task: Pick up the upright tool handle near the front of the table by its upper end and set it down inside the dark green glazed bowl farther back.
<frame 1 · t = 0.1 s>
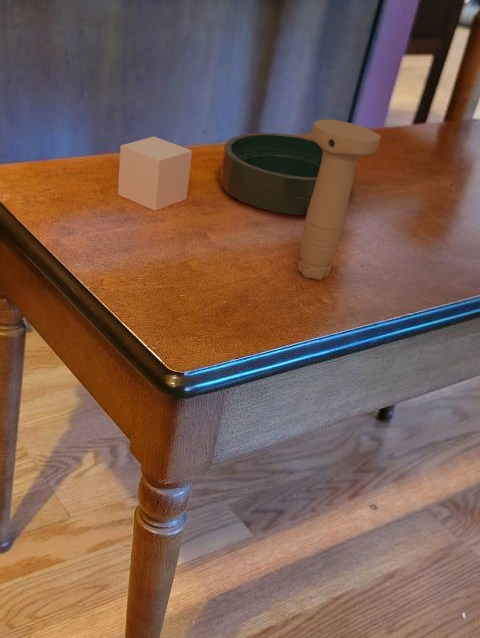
handle: (312, 275, 78), on the table
beige cube: (152, 198, 91), on the table
bowl: (282, 193, 96), on the table
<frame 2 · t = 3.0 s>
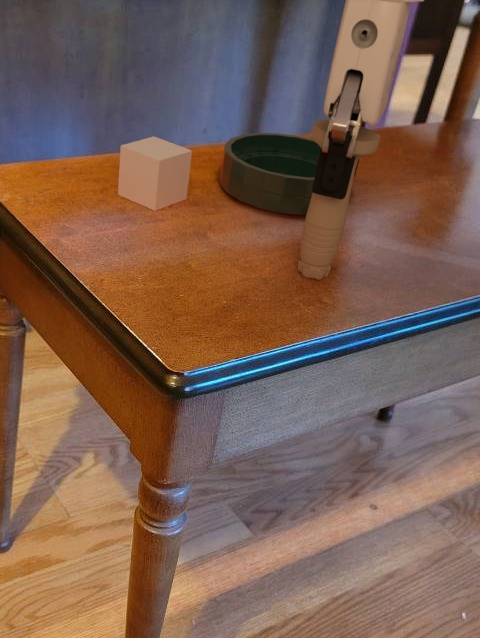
hand: (333, 183, 72), 10 cm above the table, tool pointing down, fingers closed on handle, 5 cm apart
handle: (312, 275, 78), on the table, touching gripper
everything else where it was.
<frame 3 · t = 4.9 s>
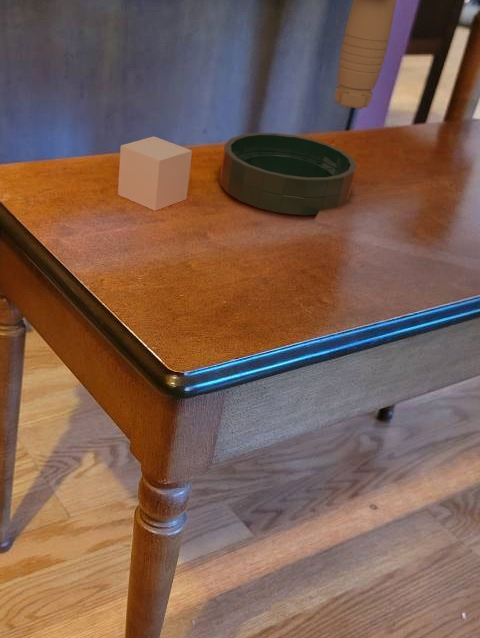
handle: (350, 106, 70), point 17 cm above the table, touching gripper
everything else where it was.
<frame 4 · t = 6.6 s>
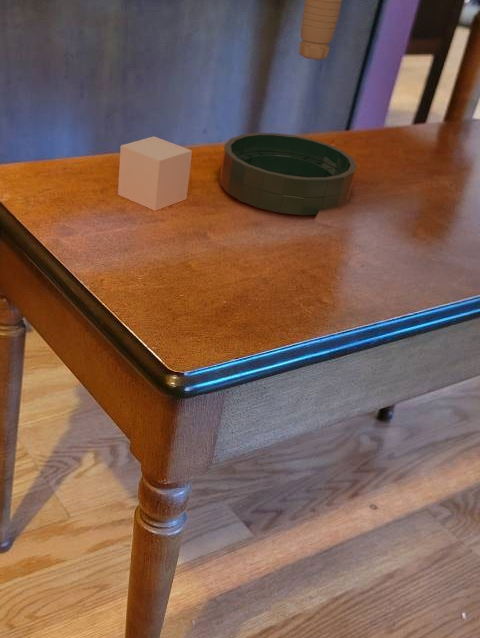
handle: (311, 58, 85), point 17 cm above the table, touching gripper
everything else where it was.
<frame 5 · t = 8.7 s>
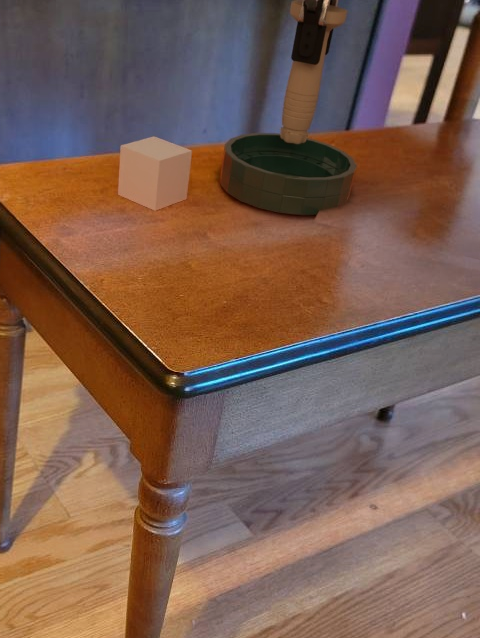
hand: (310, 55, 86), 17 cm above the table, tool pointing down, fingers closed on handle, 5 cm apart
handle: (292, 142, 92), point 7 cm above the table, touching gripper
everything else where it was.
when the fingers open (10 cm above the table, at t = 10.7 s): handle stays where it is, resting on bowl.
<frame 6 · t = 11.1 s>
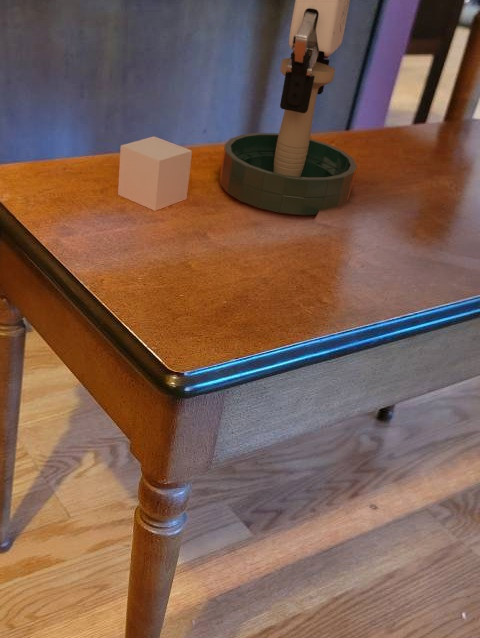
hand: (301, 100, 89), 12 cm above the table, tool pointing down, fingers open, 9 cm apart
handle: (283, 190, 96), resting on bowl
everything else where it was.
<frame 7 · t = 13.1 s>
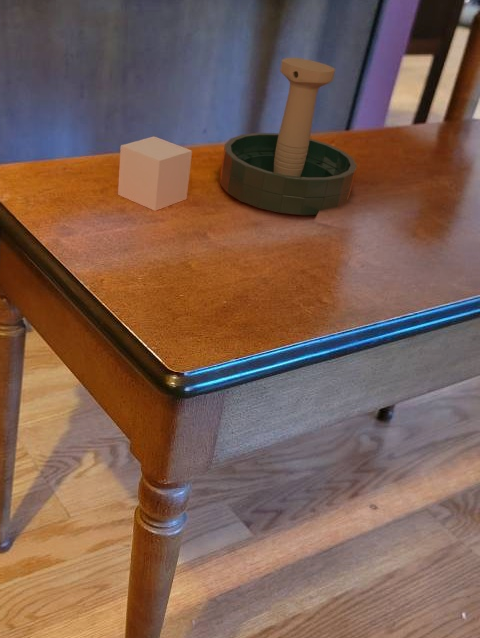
nothing on the table moved.
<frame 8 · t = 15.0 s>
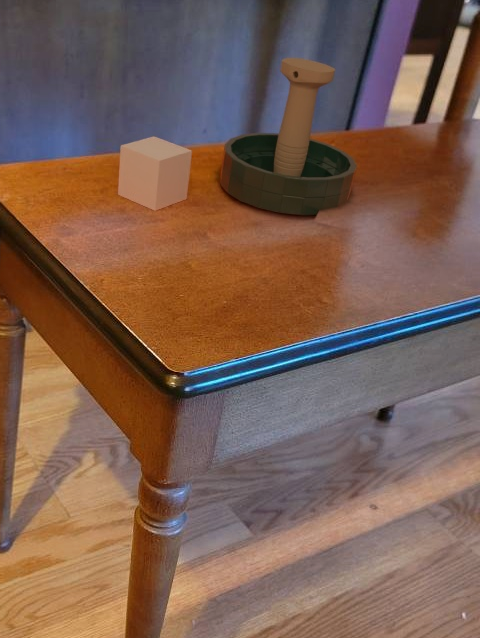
nothing on the table moved.
at the end: handle inside the target area in the bowl (0.1 cm from its centre), point 0.4 cm above the bowl's base; the gripper is holding nothing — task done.
